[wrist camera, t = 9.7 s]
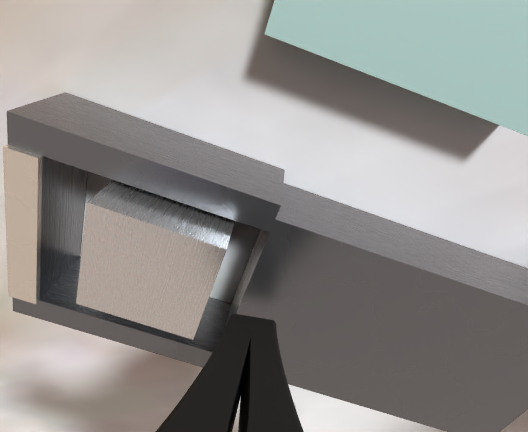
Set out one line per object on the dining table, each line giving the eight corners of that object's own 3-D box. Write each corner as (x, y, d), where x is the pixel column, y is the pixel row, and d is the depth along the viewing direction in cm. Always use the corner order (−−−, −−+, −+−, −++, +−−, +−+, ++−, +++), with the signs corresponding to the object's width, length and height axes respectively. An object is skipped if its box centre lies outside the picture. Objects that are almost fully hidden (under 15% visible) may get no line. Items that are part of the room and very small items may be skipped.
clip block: (226, 249, 10) (86, 202, 10) (193, 339, 12) (76, 303, 12) (245, 189, 14) (142, 153, 13) (216, 267, 15) (127, 237, 15)
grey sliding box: (572, 271, 14) (635, 330, 11) (454, 389, 18) (480, 453, 15) (65, 92, 12) (1, 112, 10) (56, 266, 16) (9, 314, 13)
